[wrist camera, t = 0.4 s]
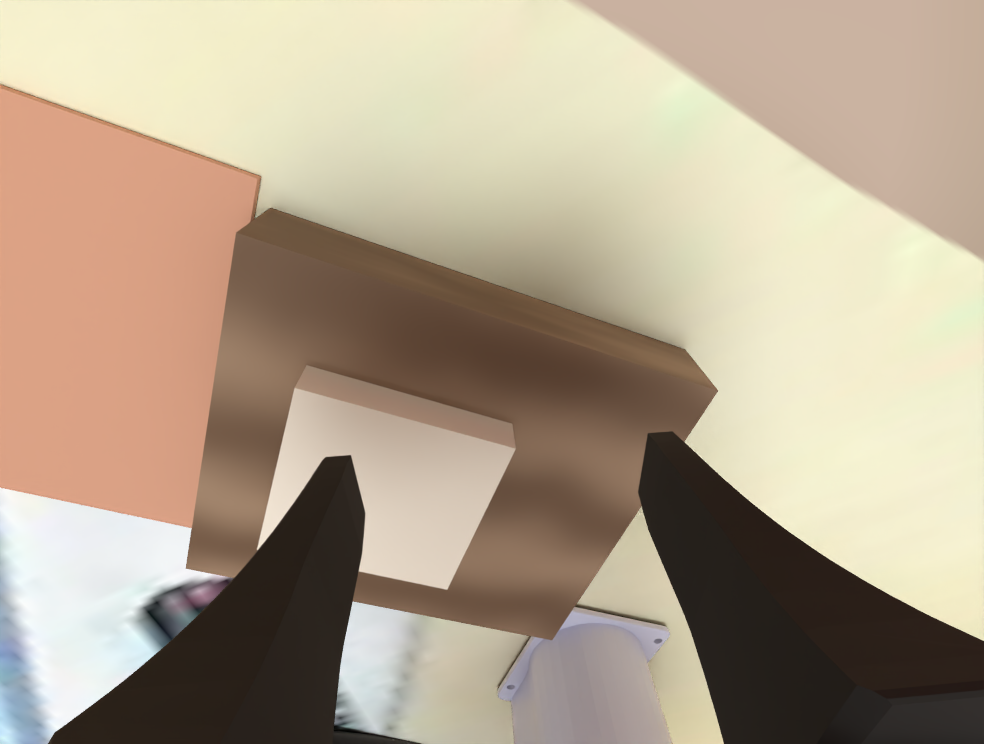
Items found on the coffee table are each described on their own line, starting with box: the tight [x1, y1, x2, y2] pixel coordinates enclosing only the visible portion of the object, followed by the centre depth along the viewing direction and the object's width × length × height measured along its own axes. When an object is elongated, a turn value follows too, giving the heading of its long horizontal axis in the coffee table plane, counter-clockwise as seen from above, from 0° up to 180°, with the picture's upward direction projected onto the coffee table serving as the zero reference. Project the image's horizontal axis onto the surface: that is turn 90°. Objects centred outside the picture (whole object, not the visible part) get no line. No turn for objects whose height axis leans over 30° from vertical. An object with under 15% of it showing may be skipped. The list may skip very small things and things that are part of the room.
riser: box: [186, 208, 718, 640], centre depth 24 cm, size 16×18×4 cm
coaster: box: [257, 365, 516, 590], centre depth 21 cm, size 8×8×2 cm
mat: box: [0, 85, 261, 528], centre depth 22 cm, size 18×12×1 cm, turn 159°
